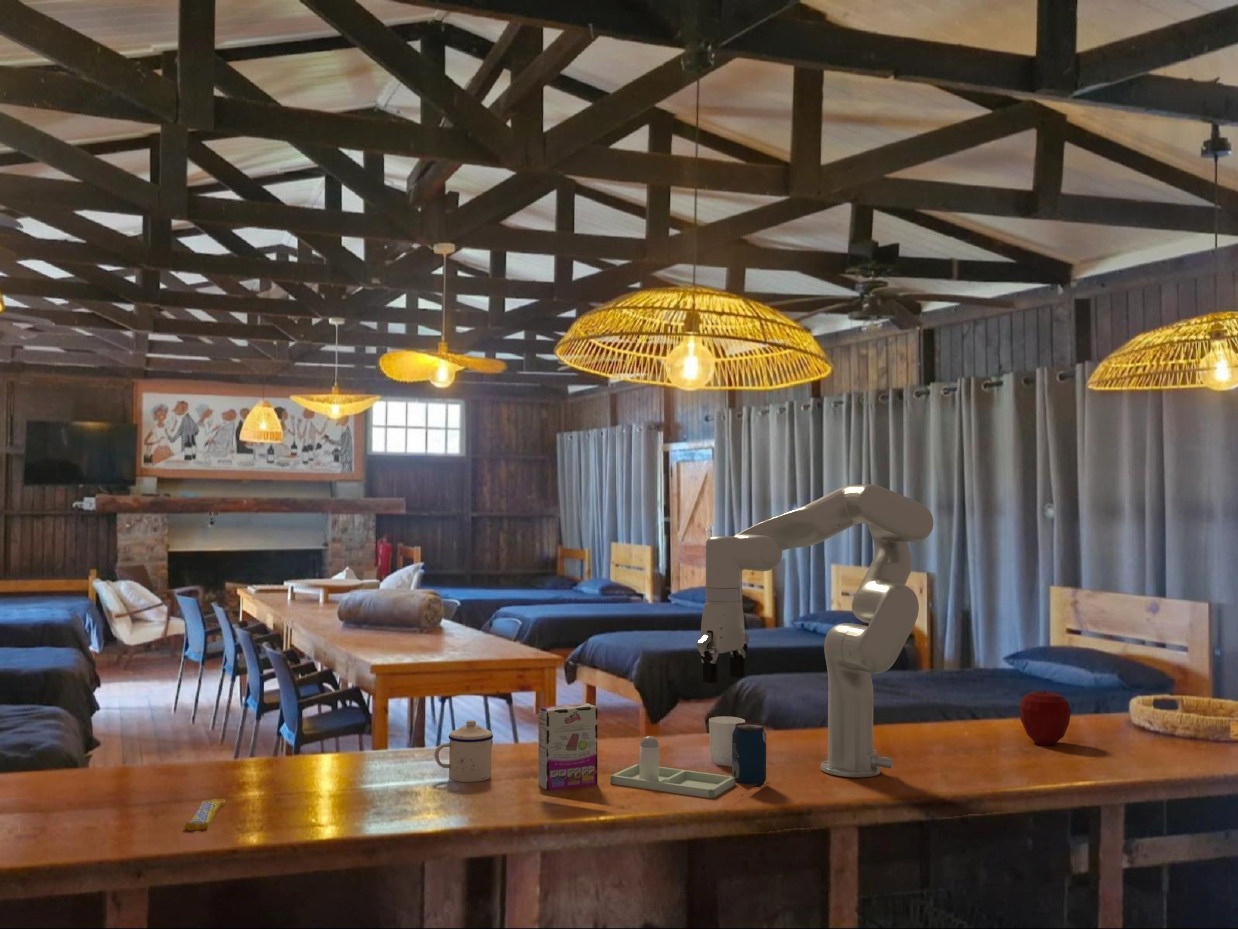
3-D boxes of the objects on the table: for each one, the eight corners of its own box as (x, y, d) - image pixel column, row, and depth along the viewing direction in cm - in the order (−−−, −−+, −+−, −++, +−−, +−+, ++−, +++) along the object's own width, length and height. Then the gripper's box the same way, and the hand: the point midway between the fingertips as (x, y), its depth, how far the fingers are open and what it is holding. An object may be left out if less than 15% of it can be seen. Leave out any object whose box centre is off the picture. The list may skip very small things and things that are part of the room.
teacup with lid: (485, 771, 227) (486, 715, 228) (497, 781, 219) (498, 723, 219) (429, 775, 223) (430, 719, 223) (439, 786, 214) (440, 727, 215)
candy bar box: (587, 783, 218) (588, 702, 218) (598, 789, 213) (599, 706, 214) (536, 789, 212) (537, 706, 213) (546, 795, 208) (547, 710, 209)
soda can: (771, 783, 220) (771, 724, 220) (757, 791, 214) (757, 730, 214) (740, 778, 223) (741, 720, 224) (725, 785, 217) (726, 726, 218)
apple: (1079, 749, 257) (1079, 693, 257) (1030, 748, 257) (1030, 692, 257) (1059, 738, 269) (1059, 685, 269) (1012, 737, 269) (1012, 684, 269)
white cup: (743, 771, 230) (743, 724, 230) (706, 769, 232) (707, 722, 232) (746, 763, 238) (746, 717, 238) (710, 760, 239) (711, 715, 240)
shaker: (662, 779, 218) (662, 735, 218) (653, 784, 214) (654, 739, 214) (644, 777, 219) (645, 733, 220) (635, 781, 216) (636, 736, 216)
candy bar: (208, 834, 182) (208, 822, 183) (181, 834, 182) (182, 823, 182) (225, 807, 199) (225, 796, 199) (201, 807, 198) (202, 797, 198)
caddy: (735, 789, 215) (735, 776, 215) (712, 803, 204) (712, 790, 204) (636, 775, 225) (637, 763, 225) (610, 788, 214) (610, 775, 214)
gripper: (732, 592, 230) (732, 673, 229) (684, 597, 217) (684, 683, 216) (762, 594, 225) (762, 676, 224) (714, 600, 212) (715, 687, 211)
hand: (724, 679), depth 220 cm, fingers open, 9 cm apart
